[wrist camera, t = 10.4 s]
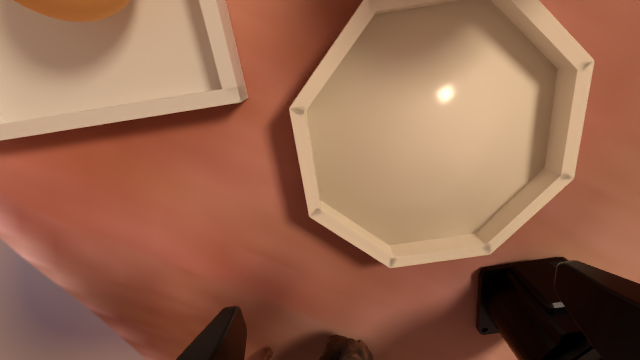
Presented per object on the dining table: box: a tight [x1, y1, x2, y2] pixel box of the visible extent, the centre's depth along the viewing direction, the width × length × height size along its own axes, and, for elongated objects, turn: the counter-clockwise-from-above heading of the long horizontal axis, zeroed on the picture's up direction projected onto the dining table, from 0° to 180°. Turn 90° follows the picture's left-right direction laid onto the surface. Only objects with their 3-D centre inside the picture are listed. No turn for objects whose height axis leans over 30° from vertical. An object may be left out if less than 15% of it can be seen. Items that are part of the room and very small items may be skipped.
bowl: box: [289, 0, 594, 268], centre depth 18 cm, size 16×16×2 cm
